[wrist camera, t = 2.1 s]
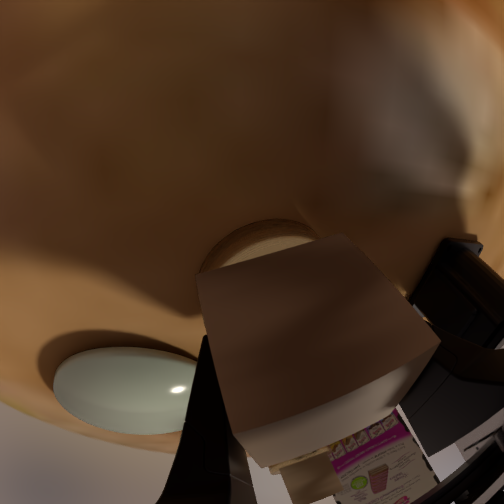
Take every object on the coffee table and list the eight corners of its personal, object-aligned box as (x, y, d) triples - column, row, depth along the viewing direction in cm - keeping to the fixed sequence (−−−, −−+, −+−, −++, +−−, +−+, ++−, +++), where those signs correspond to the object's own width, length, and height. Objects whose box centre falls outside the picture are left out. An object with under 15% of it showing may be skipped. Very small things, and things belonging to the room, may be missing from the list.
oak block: (325, 451, 18) (344, 489, 14) (321, 459, 20) (337, 492, 17) (278, 468, 17) (295, 508, 14) (281, 473, 19) (294, 508, 16)
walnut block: (342, 232, 9) (441, 341, 5) (334, 325, 12) (389, 415, 8) (194, 275, 8) (232, 434, 4) (227, 361, 11) (261, 468, 7)
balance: (179, 243, 9) (198, 359, 6) (327, 204, 10) (411, 282, 7) (258, 437, 24) (273, 477, 20) (311, 419, 24) (328, 457, 21)
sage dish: (230, 337, 13) (235, 353, 12) (211, 418, 18) (214, 430, 17) (30, 334, 10) (26, 350, 9) (81, 420, 15) (81, 431, 14)
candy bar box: (315, 438, 31) (359, 531, 18) (303, 435, 28) (352, 541, 15) (388, 396, 30) (441, 488, 17) (385, 388, 27) (446, 493, 14)
